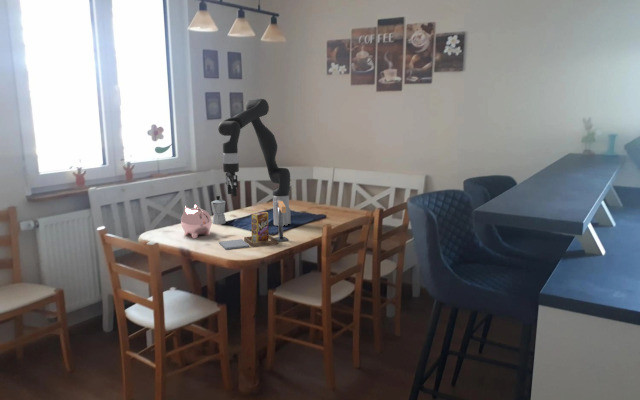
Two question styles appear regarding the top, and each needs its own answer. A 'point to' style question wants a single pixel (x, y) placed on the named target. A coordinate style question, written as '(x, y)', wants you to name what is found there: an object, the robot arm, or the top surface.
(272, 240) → the wooden tray
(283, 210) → the arm
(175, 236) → the top surface
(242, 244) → the mat
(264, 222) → the candy box
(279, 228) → the post
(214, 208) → the coffee maker
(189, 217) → the piggy bank
